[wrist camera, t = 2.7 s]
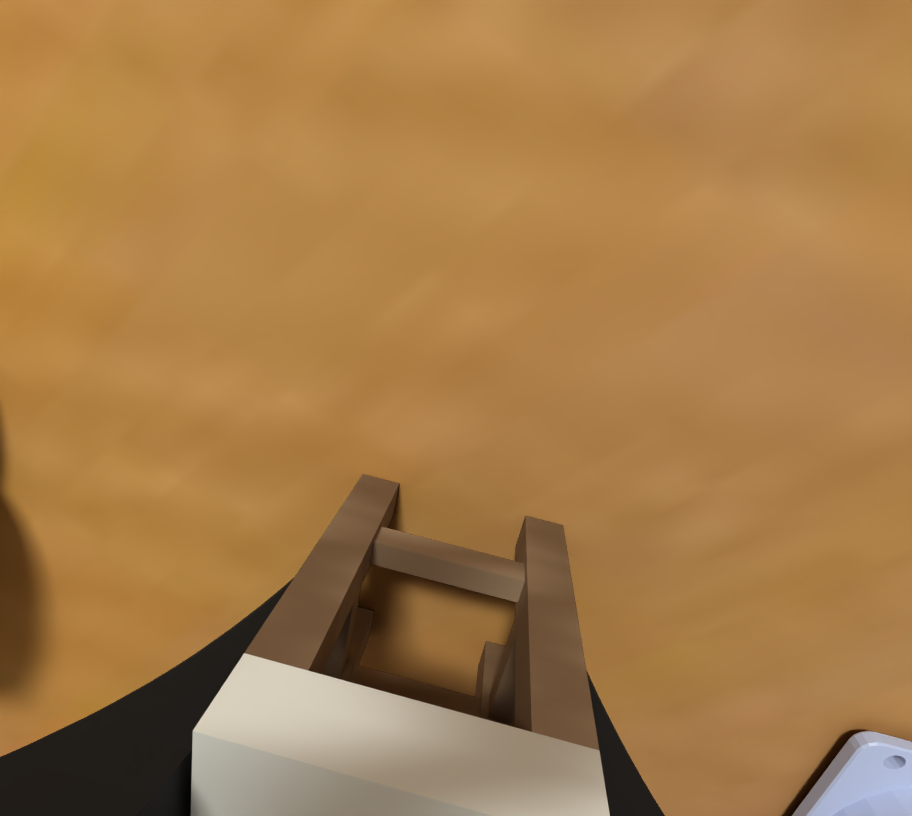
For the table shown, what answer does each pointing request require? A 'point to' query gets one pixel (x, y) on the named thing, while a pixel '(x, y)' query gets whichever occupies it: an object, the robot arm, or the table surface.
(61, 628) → the table surface
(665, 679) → the table surface
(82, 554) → the table surface
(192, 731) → the robot arm
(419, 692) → the stool
